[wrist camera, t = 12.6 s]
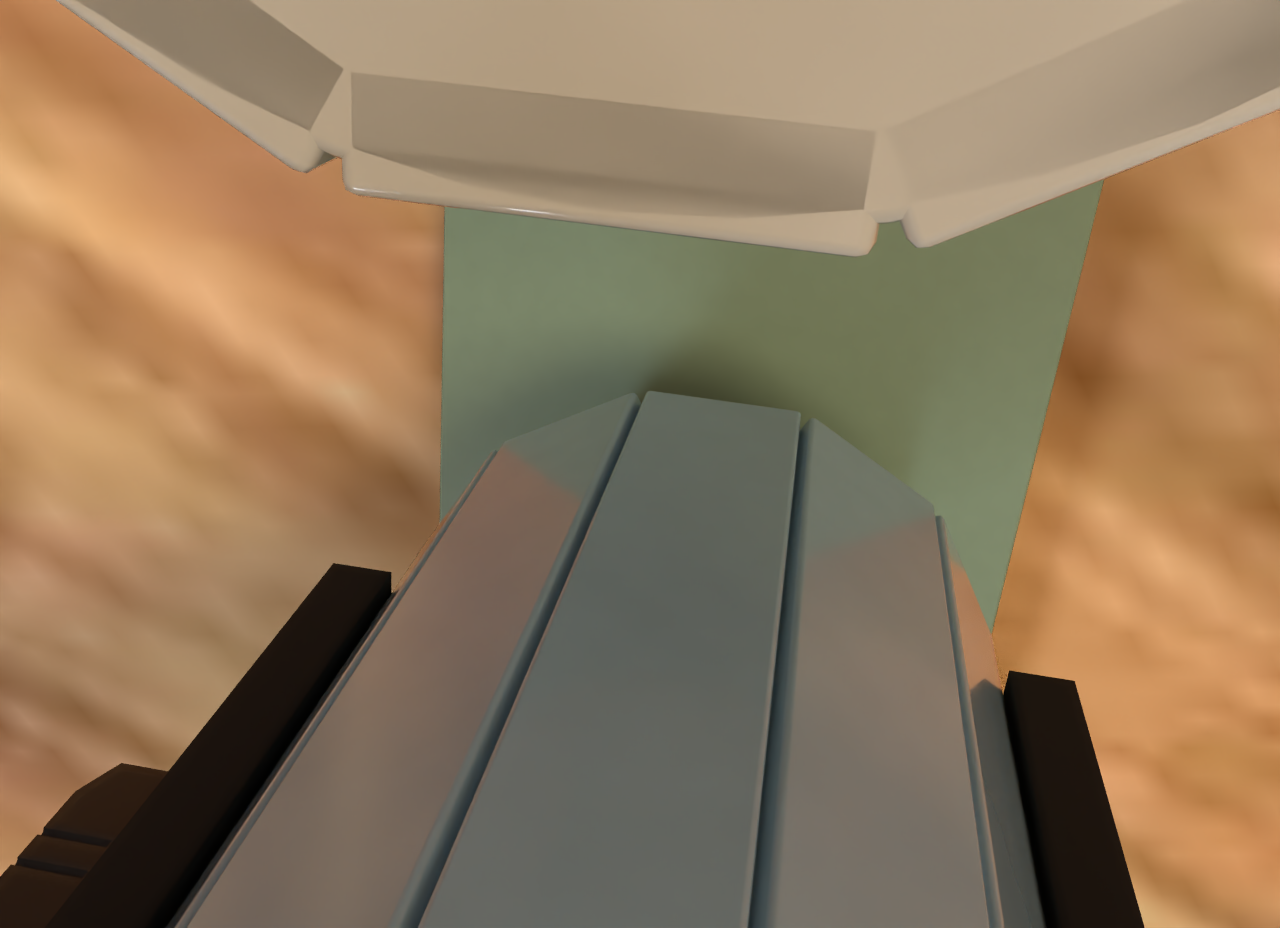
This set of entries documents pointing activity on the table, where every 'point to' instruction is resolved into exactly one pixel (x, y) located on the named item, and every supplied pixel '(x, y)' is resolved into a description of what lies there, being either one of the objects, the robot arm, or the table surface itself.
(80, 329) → the table surface
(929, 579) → the blue cup
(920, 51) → the cream cup
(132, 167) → the table surface
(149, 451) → the table surface
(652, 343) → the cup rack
